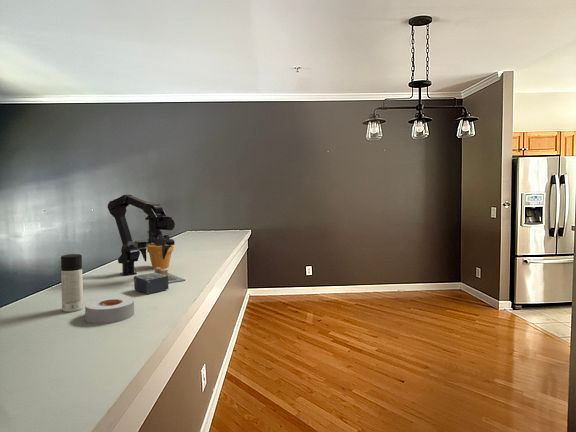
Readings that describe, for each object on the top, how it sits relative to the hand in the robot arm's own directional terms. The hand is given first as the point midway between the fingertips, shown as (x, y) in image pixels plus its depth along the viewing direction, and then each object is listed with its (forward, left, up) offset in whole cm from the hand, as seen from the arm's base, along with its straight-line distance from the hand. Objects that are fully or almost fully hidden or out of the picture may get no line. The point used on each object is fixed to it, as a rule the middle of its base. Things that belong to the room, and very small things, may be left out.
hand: (154, 260), depth 185 cm
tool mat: (+5, +2, -9) cm, 10 cm away
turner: (+6, +2, -8) cm, 10 cm away
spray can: (+29, -43, -9) cm, 53 cm away
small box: (+17, -12, -6) cm, 21 cm away
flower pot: (-22, +13, -9) cm, 27 cm away
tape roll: (+45, -35, -9) cm, 58 cm away
